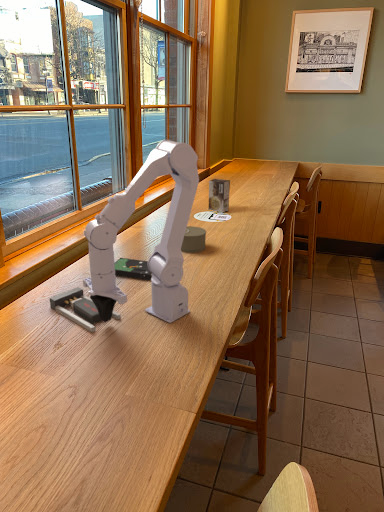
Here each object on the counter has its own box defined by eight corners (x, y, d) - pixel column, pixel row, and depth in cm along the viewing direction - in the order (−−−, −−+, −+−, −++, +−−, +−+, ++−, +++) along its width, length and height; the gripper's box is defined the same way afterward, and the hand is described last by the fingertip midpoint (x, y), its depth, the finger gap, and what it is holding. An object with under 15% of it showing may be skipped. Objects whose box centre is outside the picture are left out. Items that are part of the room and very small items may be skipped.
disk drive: (160, 270, 132) (120, 264, 135) (160, 262, 131) (120, 257, 134) (149, 282, 122) (106, 276, 126) (149, 274, 121) (106, 268, 125)
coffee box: (229, 211, 203) (230, 180, 197) (223, 213, 198) (224, 182, 192) (213, 208, 207) (215, 178, 202) (207, 211, 202) (208, 180, 196)
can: (202, 254, 144) (203, 237, 142) (171, 251, 146) (171, 234, 144) (208, 244, 155) (208, 227, 153) (178, 241, 157) (178, 225, 155)
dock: (120, 318, 101) (120, 308, 100) (91, 332, 94) (90, 321, 93) (79, 296, 112) (78, 286, 110) (50, 307, 105) (49, 297, 104)
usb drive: (92, 326, 98) (91, 316, 97) (67, 309, 105) (66, 300, 104) (109, 318, 101) (109, 309, 100) (84, 302, 109) (83, 294, 108)
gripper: (70, 266, 93) (75, 315, 98) (108, 284, 85) (112, 337, 90) (94, 258, 98) (98, 305, 103) (132, 274, 90) (135, 325, 95)
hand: (106, 319), depth 97 cm, fingers closed
